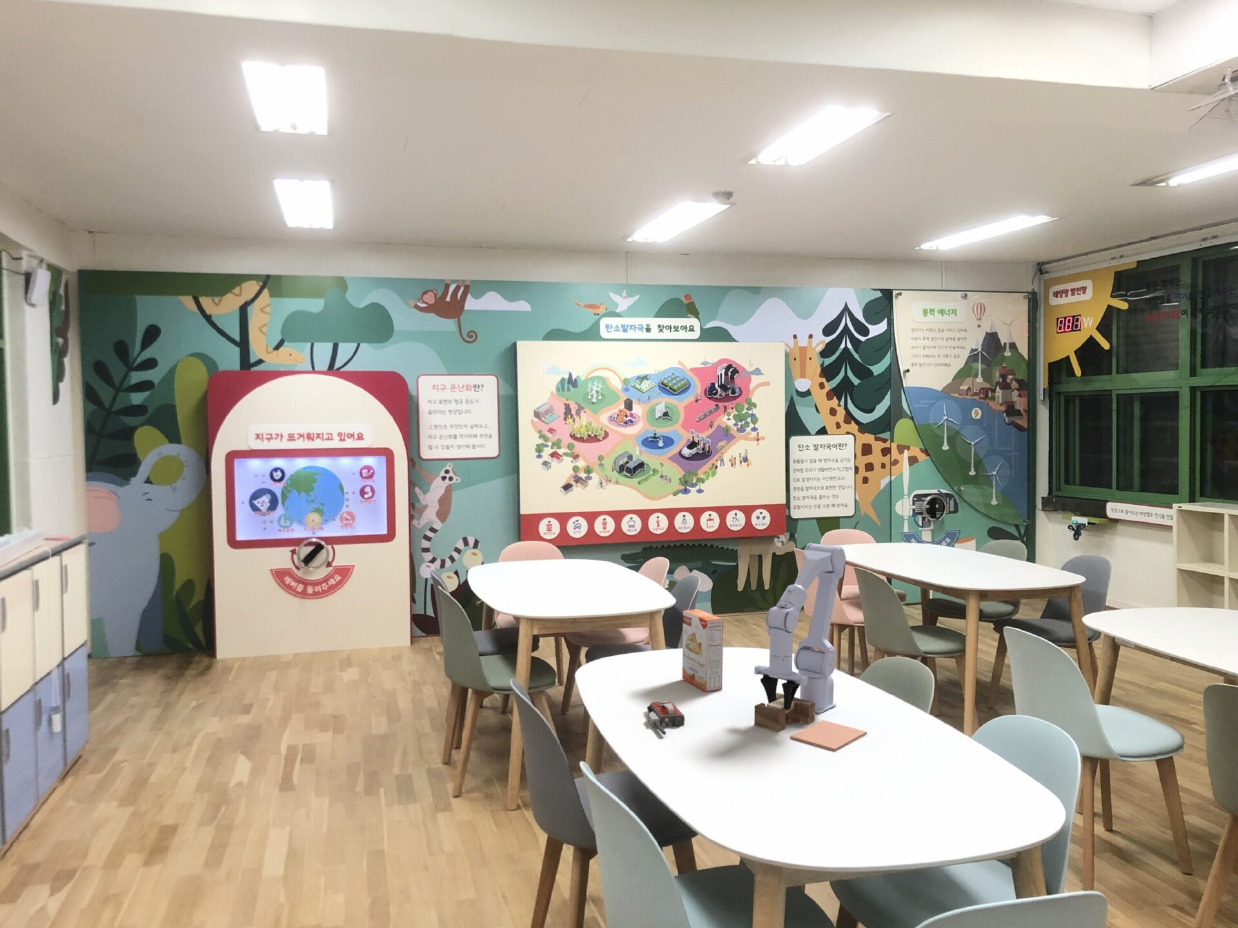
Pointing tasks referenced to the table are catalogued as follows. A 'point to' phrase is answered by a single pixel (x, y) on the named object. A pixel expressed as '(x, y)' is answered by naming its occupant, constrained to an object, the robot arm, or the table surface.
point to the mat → (828, 735)
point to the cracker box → (702, 650)
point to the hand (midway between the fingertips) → (779, 706)
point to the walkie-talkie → (664, 715)
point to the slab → (781, 704)
